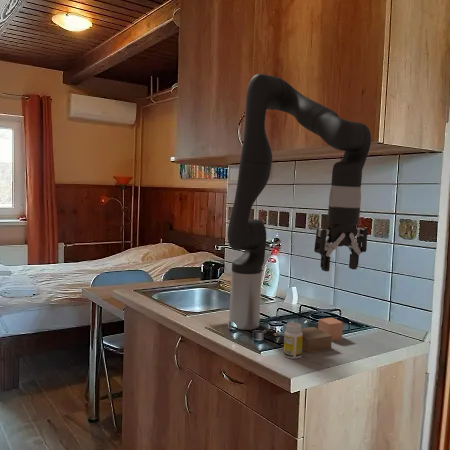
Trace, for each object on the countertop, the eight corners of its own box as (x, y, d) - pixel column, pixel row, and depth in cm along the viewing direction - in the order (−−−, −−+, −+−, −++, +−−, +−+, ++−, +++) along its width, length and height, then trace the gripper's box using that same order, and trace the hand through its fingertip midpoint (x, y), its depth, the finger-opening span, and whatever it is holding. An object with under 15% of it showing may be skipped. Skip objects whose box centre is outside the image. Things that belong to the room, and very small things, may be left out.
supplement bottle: (299, 352, 124) (301, 321, 124) (303, 359, 120) (305, 327, 119) (282, 352, 124) (283, 321, 123) (284, 359, 120) (286, 327, 119)
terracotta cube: (317, 335, 139) (318, 319, 138) (331, 333, 141) (332, 317, 140) (328, 341, 134) (329, 324, 134) (342, 338, 137) (343, 322, 136)
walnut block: (290, 344, 131) (291, 330, 131) (312, 340, 135) (313, 326, 135) (307, 354, 124) (308, 339, 124) (331, 349, 128) (332, 335, 128)
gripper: (356, 203, 120) (351, 265, 122) (311, 203, 114) (306, 268, 116) (377, 206, 113) (371, 271, 115) (330, 206, 107) (325, 275, 109)
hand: (339, 269), depth 115 cm, fingers open, 8 cm apart
